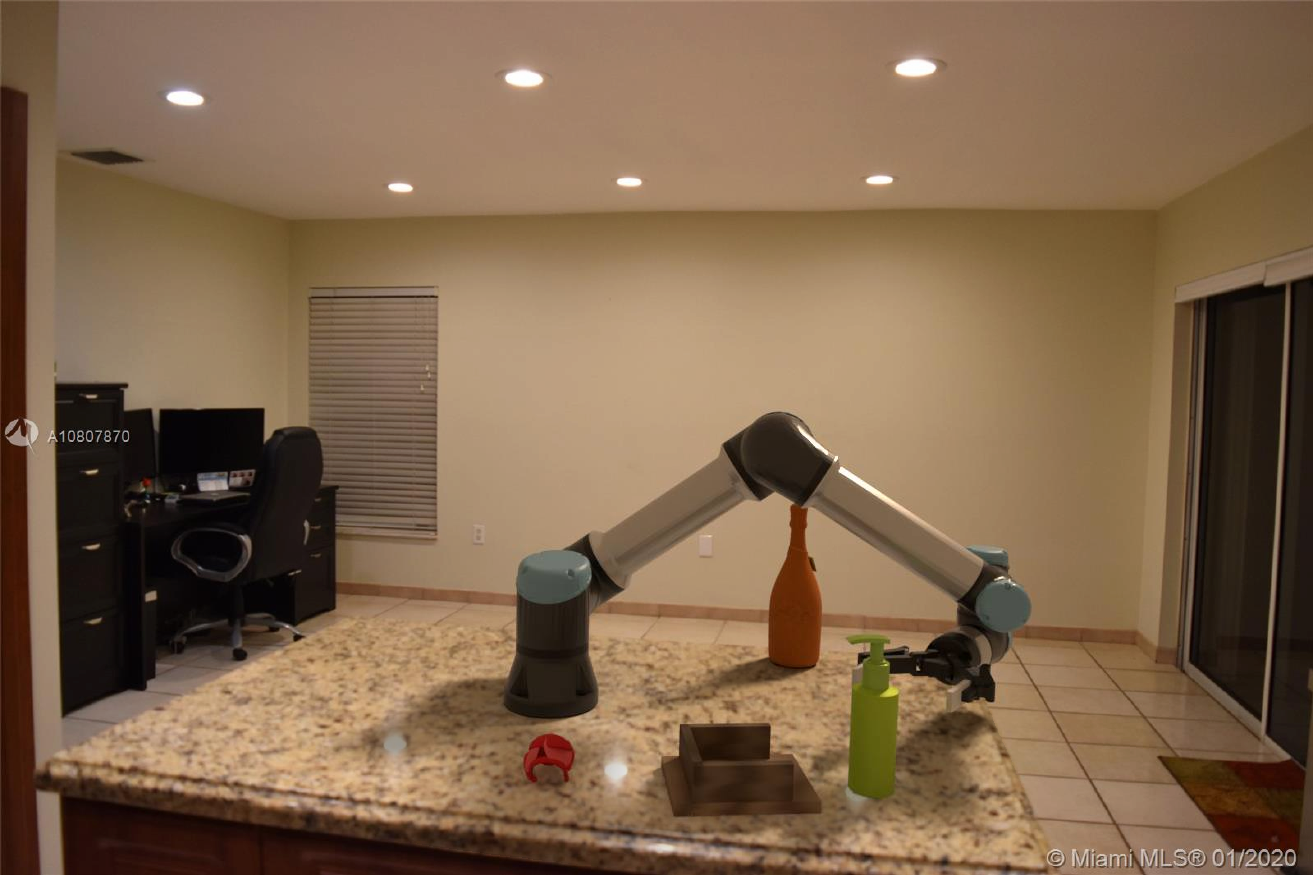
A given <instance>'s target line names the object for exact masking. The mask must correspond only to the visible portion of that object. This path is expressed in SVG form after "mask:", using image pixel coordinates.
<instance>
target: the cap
mask: <svg viewBox="0 0 1313 875" xmlns="http://www.w3.org/2000/svg"><path fill="white" fill-rule="evenodd" d="M575 754H576V752H575V751H574V748H573V745H572V744H571V742H570V740H568V739H566V738H565V737H563V736H561V735H559V734H557V733H545V734H541V735H538V736H537V737H536V738H534V739H533V740H532V741H531V742H530V745H529V747H528V751H527V752H526V753H525V755H524V756H523V761H522V765H523V766H522V767H523V770H524V773H525V776H526V777H527V779H528V781H530V782H531V783H532V784H536V783H537V782H538V777H537V776H536V775H535V774H534V768H535V767H536V766H540V765H543V766H545V767H554V766H555V767H557V768H559V769H560V770H561V772H562V775H563V781H564V782H565V783H568V782H569V781H570V777H569V771H571V769H572V766H573V764H574V761H575V758H576V757H575Z"/></svg>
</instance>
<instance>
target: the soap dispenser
mask: <svg viewBox="0 0 1313 875" xmlns="http://www.w3.org/2000/svg"><path fill="white" fill-rule="evenodd" d="M845 640H846V641H847V642H848V643H850V645H852V646H853V645H857V644H866V643H867V644H868V643H869V644H870V645H869V652H870V657H869V658H867V659H865V660H863V671H862V682H859V683H856V684H854V685H853V686H852V685H851V697H850V700H851V701H850V703H851V704H850V720H849V721H850V723H849V724H850V725H849V746H848V747H849V750H848V753H849V754H848V770H847V771H848V772H847V776H848V777H847V787H848V789H849V790H850V791H851V792H852V793H853V794H856V795H858V796H860V797H865V798H871V799H885V798H888V797H891V796H892V795H894V793H895V787H896V786H895V785H896V768H897V767H896V765H897V764H896V762H897V742H898V738H897V737H898V718H899V717H898V716H899V700H900V699H899V698H900V696H899V694H900V691H899V689H898V688H897V687H895V686H893V685H891V684H890V674H889V673H890V663H889V662H888V661H886V660H885V659H883V654H884V650H885V648H884V647H885V645H890V644H891V639H890V638H889V637H888V636H887V635H884V634H883V635H882V634H875V633H874V634H871V633H859V634H853V635H849V636H847V637H845Z"/></svg>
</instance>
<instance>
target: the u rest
mask: <svg viewBox="0 0 1313 875" xmlns="http://www.w3.org/2000/svg"><path fill="white" fill-rule="evenodd" d="M771 734H772V726H771V724H770V722H745V723H744V722H733V723H732V722H729V723H728V722H726V723H719V722H718V723H679V734H678V736H679V738H678V740H679V741H678V755H661V762H660V763H661V765H660V768H661V771H662V775H663V779H664V783H665V787H666V791H667V796H668V798H669V802H670V807H671V810H672V811H671V812H672V814H673V817H674V818H675V817H712V816H713V817H714V816H715V817H716V816H718V817H719V816H720V817H722V816H723V817H724V816H762V815H801V814H803V815H804V814H809V815H810V814H822V799H821V798H820V797H819V795H818V793H817V792H816V789H815V788H814V787H813V785H812V783H811V782H810V779H809V778H808V777H807V775H806V773H805V772H804V770H803V769H802V767H801V765H800V764H799V762H798V761H797V758H795V756H794V754H793V753H771Z"/></svg>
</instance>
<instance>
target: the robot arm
mask: <svg viewBox="0 0 1313 875" xmlns="http://www.w3.org/2000/svg"><path fill="white" fill-rule="evenodd" d="M774 493H777V494H778V495H780V496H782V497H783V498H785V499H787V500H788V501H790V502H792V503H793V504H794V503H795V504H797V505H798V506H800V507H801V508H808V509H809V508H813V509H815V510H816V511H818V512H819V513H820V514H822V515H823V516H826V517H827V518H829V519H830V520H831V521H833V522H834V523H836V524H837V525H839V526H840V527H842V528H844V529H845V530H847V531H848V532H849V533H850V534H851V533H852V535H854V536H856V537H857V538H859V540H862V541H863V542H865V544H868V545H869V546H871V547H872V548H874V549H875V550H876V551H878V552H880V553H882V554H883V555H884V556H886V557H888V558H889V559H890V560H892V561H894V562H895V563H896V564H898V565H900V566H901V567H902V568H904V569H906V570H907V571H908V572H910V573H912V574H913V575H915V576H916V577H917V578H919V579H921V580H922V581H924V582H925V583H927V584H928V585H930V586H931V587H933V588H934V589H936V590H937V591H939V592H940V593H942V594H943V595H945V596H947V597H948V598H950V599H951V600H952V601H954V602H955V603H956V604H957V607H956V621H955V622H956V623H955V624H956V625H955V628H952V629H950V630H948V631H946V632H945V633H943V634H941V635H939V636H937V637H935V638H934V639H933V640H931V641H930V642H929V643H928V646H927V647H926V648H925V650H923V651H922V650H921V651H916V650H915V651H910V647H909V646H908V645H902V646H899V647H895V648H888V649H884V654H883V659H885V660H886V661H888V662H889V663H890V673H889V675H901V674H903V675H904V674H906V675H907V674H909V675H911V676H912V677H916V678H917V677H928V678H934V679H936V680H937V681H938V682H940V683H941V684H944V685H946V686H952V687H951V688H950V689H948V690H947V691H946V701H945V702H946V703H945V704H946V705H945V712H948V713H954V711H956V710H958V709H959V708H960V707H962V706H963V705H964V704H970V703H972V702H974V701H980V700H981V698H983V699H984V701H985V702H988V703H995V700H996V682H995V680H994V678H993V675H992V674H991V671H992V670H991V669H992V665H994V664H996V663H998V662H1000V661H1001V660H1002V659H1003V658H1004V657H1005V656H1006V654H1007V653H1008V652H1010V651H1009V650H1010V649H1011V647H1012V643H1013V636H1012V632H1015V631H1018V630H1019V629H1021V628H1022V627H1024V625H1026V624H1027V623H1028V622H1029V619H1030V617H1031V614H1032V609H1033V608H1032V600H1031V598H1030V596H1029V594H1028V592H1027V590H1026V589H1025V588H1024V586H1023V585H1022V584H1021V583H1019V582H1017V581H1016V580H1015V579H1014V578H1013V577H1012V576H1011V575H1010V574H1009V570H1010V565H1009V553H1008V551H1007V550H1006V549H1003V548H1001V547H997V546H992V545H981V544H976V545H975V544H974V545H973V544H971V545H965V546H963V545H961V544H960V543H958V542H956V541H955V540H954V539H952V538H951V537H949V536H948V535H946V534H944V533H943V532H942V531H940V530H939V529H937V528H936V527H934V526H933V525H932V524H929V523H928V522H927V521H926V520H925V521H924V520H923V519H922V518H921V517H919V516H917V515H916V514H914V513H913V512H911V511H909V510H908V509H906V508H905V507H904V506H902V505H901V504H899V503H897V502H896V501H895V500H893V499H891V497H888V496H887V495H885V494H884V493H883V492H881V491H880V490H878V489H876V488H875V487H874V486H872V485H870V484H869V483H867V482H865V480H863V479H862V478H859V477H858V476H856V475H855V474H854V473H852V472H851V471H849V470H847V469H846V468H844V467H843V466H842V465H841V462H840V460H839V455H837V454H835V453H834V452H832V451H831V450H830V449H828V448H827V447H825V446H824V445H823V444H822V443H820V442H819V441H818V440H817V439H816V438H815V437H814V434H813V433H812V432H811V429H810V427H809V426H808V425H807V424H806V422H805V421H804V420H803V419H802V418H800V417H798V416H797V415H795V414H793V413H790V412H786V411H772V412H767V413H765V414H763V415H761V416H759V417H758V418H756V419H755V420H754V421H753V423H751V424H749V425H748V426H746V427H745V428H744V429H742V430H741V431H739V432H737V433H736V434H735V435H733V436H731V437H730V438H729V439H727V440H725V442H723V443H722V444H721V445H720V450H719V454H718V457H717V458H715V459H713V460H712V461H710V462H709V463H707V464H706V465H704V466H703V467H702V468H700V469H699V470H696V471H695V472H694V473H693V474H691V475H689V476H687V478H685V479H684V480H682V481H681V482H679V483H678V484H676V485H675V486H673V487H671V488H670V489H668V490H667V491H665V492H664V493H663V494H661V495H660V496H658V497H657V498H655V499H654V500H652V501H650V502H649V503H647V504H646V505H645V506H643V507H642V508H640V509H639V510H637V511H636V512H634V513H632V514H631V515H630V516H628V517H626V518H625V519H623V520H622V521H620V522H619V523H617V524H616V525H615V526H613V527H612V528H610V529H609V530H607V531H605V532H602V531H597V530H592V531H590V532H589V533H587V534H585V535H584V536H582V537H581V538H580V539H578V540H576V541H575V542H574V543H572V544H570V545H568V546H566V547H564V548H562V549H552V550H550V549H549V550H543V551H540V552H536V553H532V554H530V555H527V556H526V557H525V558H522V560H521V561H520V563H519V565H518V567H517V574H516V575H517V576H516V579H515V580H516V581H515V586H516V613H515V614H516V615H515V616H516V618H515V619H516V620H515V621H516V623H515V624H516V625H515V626H516V627H515V628H516V630H515V631H516V633H515V642H516V643H515V656H514V658H513V662H512V665H511V667H510V670H509V674H508V676H507V679H506V681H505V685H504V688H503V704H504V706H505V708H507V709H508V710H510V711H512V712H514V713H517V714H520V715H524V716H527V717H528V716H529V717H536V718H562V717H570V716H571V717H572V716H575V715H580V714H583V713H586V712H588V711H590V710H593V709H594V708H595V707H596V706H597V705H598V703H599V697H600V696H599V692H600V690H599V684H598V681H597V677H596V674H595V671H594V667H593V664H592V660H591V657H590V650H589V648H590V644H589V643H590V642H589V641H590V616H591V615H592V613H594V612H595V610H596V609H598V608H599V607H601V606H602V605H604V604H605V603H607V602H608V601H610V600H612V598H614V597H616V596H617V595H619V594H621V593H622V592H624V590H627V589H628V588H629V587H630V585H631V580H632V575H634V574H635V573H636V572H638V571H639V570H642V569H643V568H644V567H645V566H647V565H649V564H650V563H652V562H653V561H655V560H656V559H658V558H659V557H661V556H663V555H664V554H665V553H667V552H669V551H670V550H672V549H673V548H675V547H676V546H677V545H679V544H680V543H681V544H682V543H683V542H684V541H686V540H687V539H688V538H690V537H691V536H694V534H696V533H697V532H699V531H701V530H702V529H703V528H706V527H707V526H708V525H709V524H711V523H713V522H715V521H716V520H717V519H719V518H720V517H722V516H724V515H725V514H727V513H728V512H730V511H732V510H733V509H734V508H736V507H737V506H739V505H741V504H742V503H744V502H745V501H751V502H753V501H754V502H759V503H760V502H762V501H763V500H765V499H767V498H768V497H770V496H771V495H772V494H774ZM869 657H870V651H863V652H858V653H857V665H856V666H854V667H852V669H851V687H852V686H853V685H854V684H856V683H859V682H862V671H863V660H865V659H867V658H869ZM917 668H918V670H917Z"/></svg>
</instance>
